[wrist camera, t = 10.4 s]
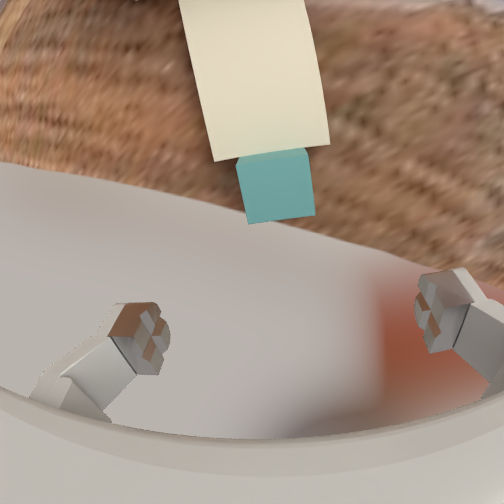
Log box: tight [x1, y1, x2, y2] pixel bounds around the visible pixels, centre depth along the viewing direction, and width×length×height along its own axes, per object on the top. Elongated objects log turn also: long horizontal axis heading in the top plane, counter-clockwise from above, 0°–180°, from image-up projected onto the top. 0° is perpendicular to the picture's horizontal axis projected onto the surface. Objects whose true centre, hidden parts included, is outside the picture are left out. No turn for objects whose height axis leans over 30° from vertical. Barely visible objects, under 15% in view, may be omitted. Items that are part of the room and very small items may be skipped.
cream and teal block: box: [178, 0, 330, 224], centre depth 16 cm, size 8×20×4 cm, turn 11°
